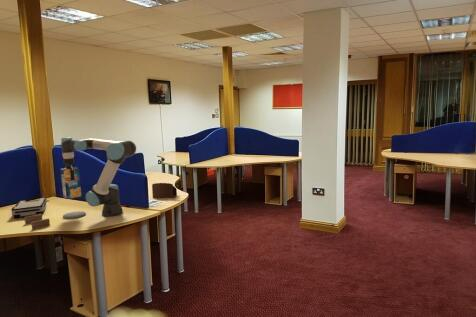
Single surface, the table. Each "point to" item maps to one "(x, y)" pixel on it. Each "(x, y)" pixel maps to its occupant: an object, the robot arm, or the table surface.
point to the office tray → (29, 208)
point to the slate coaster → (74, 215)
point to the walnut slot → (37, 221)
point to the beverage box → (70, 183)
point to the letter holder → (164, 190)
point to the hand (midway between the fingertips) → (71, 188)
